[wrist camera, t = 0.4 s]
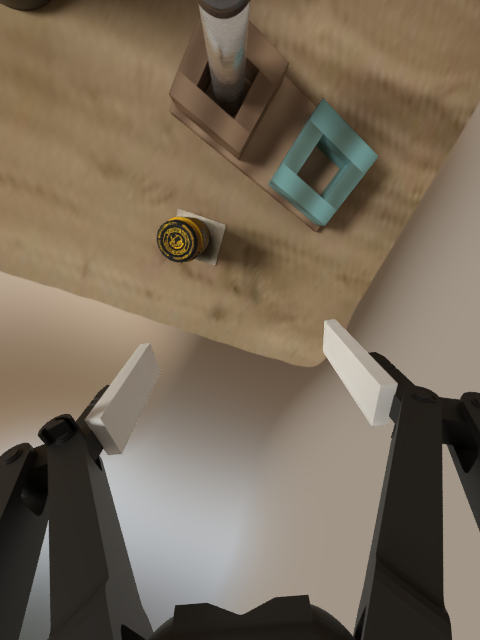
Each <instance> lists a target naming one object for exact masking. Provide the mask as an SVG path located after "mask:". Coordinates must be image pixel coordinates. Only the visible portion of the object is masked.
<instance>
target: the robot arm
mask: <svg viewBox="0 0 480 640" xmlns="http://www.w3.org/2000/svg"><path fill="white" fill-rule="evenodd" d="M48 1H49V0H0V3H2V4H4V5H6V6H9V7H12V8H16V9H34V8H37V7H40V6H42V5H44V4H45V3H47V2H48ZM323 352H324V354H325V355H326V357H327V358H328V360H329V361H330V363H331V364H332V366H333V367H334V369H335V371H336V372H337V373H338V375H339V377H340V378H341V380H342V381H343V383H344V384H345V386H346V387H347V389H348V391H349V392H350V393H351V395H352V397H353V398H354V400H355V401H356V403H357V404H358V406H359V407H360V409H361V410H362V412H363V413H364V415H365V417H366V418H367V420H368V421H369V423H370V424H371V426H381V425H387V424H388V420H389V417H390V418H391V419H392V420H393V422H394V423H395V425H394V429H393V432H392V436H391V438H392V440H391V445H390V450H389V456H388V461H387V466H386V472H385V477H384V482H383V487H382V492H381V498H380V503H379V509H378V514H377V519H376V525H375V529H374V535H373V540H372V545H371V551H370V556H369V561H368V566H367V571H366V577H365V582H364V587H363V591H362V596H361V600H360V604H359V609H358V614H357V619H356V624H355V629H354V634H353V636H352V635H351V634H350V632H349V631H348V630H347V629H346V628H345V627H344V626H343V625H342V624H341V623H340V622H339V621H338V620H337V619H335V618H334V617H333V616H332V615H330V614H329V613H328V612H326V611H324V610H323V609H321V608H319V607H317V606H314V605H311V604H310V601H309V596H308V595H300V596H287V597H276V598H273V599H271V600H269V601H268V602H266V603H264V604H262V605H260V606H258V607H257V608H255V609H253V610H251V611H249V612H247V613H245V614H243V615H238V614H235V613H233V612H230V611H227V610H225V609H222V608H219V607H217V606H214V605H211V604H209V603H200V604H188V605H176V606H175V611H174V617H172V618H170V619H169V620H167V621H166V622H165V623H163V624H162V625H161V626H160V627H159V628H158V629H157V630H156V631H155V632H154V633H153V630H152V627H151V624H150V622H149V619H148V617H147V615H146V613H145V611H144V609H143V607H142V605H141V601H140V598H139V594H138V590H137V587H136V583H135V579H134V576H133V572H132V568H131V565H130V561H129V557H128V554H127V550H126V546H125V542H124V539H123V535H122V532H121V528H120V524H119V520H118V517H117V513H116V510H115V506H114V502H113V498H112V495H111V491H110V487H109V484H108V480H107V476H106V473H105V469H104V465H103V462H102V459H101V457H100V456H99V455H100V453H101V452H102V450H103V449H104V450H105V451H106V453H107V454H108V455H114V454H122V452H123V450H124V448H125V446H126V444H127V442H128V440H129V438H130V436H131V433H132V431H133V429H134V427H135V425H136V423H137V421H138V419H139V417H140V414H141V412H142V410H143V408H144V406H145V404H146V402H147V399H148V398H149V395H150V393H151V391H152V389H153V387H154V385H155V383H156V380H157V379H158V376H159V374H160V372H161V371H160V369H159V365H158V363H157V360H156V358H155V355H154V352H153V350H152V347H151V344H150V343H147V344H140V345H139V347H138V348H137V349H136V351H135V352H134V353H133V355H132V356H131V357H130V359H129V360H128V362H127V363H126V364H125V366H124V367H123V368H122V370H121V371H120V372H119V374H118V375H117V377H116V378H115V379H114V381H113V382H112V383H111V385H106V386H105V387H104V388H103V389H102V390H100V391H99V392H98V394H97V395H96V396H95V398H94V400H92V401H91V403H90V404H89V406H88V407H87V408H86V409H85V410H84V412H83V413H82V414H81V416H80V417H79V418H78V419H77V421H76V422H75V420H74V419H73V418H72V416H71V415H70V414H63V415H60V416H58V417H55V418H53V419H52V420H50V421H49V422H47V423H46V424H45V425H44V426H43V427H42V428H41V430H40V431H39V433H38V436H39V437H40V439H41V440H42V441H43V442H44V443H45V444H44V445H41V446H38V447H36V448H33V447H32V446H31V445H30V444H29V443H22V444H19V445H16V446H14V447H12V448H11V449H9V450H8V451H6V452H5V453H4V454H2V455H1V456H0V640H18V639H19V635H20V631H21V627H22V623H23V619H24V615H25V611H26V607H27V603H28V599H29V595H30V591H31V587H32V583H33V579H34V575H35V571H36V567H37V563H38V559H39V555H40V551H41V547H42V543H43V539H44V535H45V532H46V528H47V523H48V520H49V558H50V610H51V630H50V635H49V638H48V639H47V640H452V634H451V623H450V618H449V615H448V613H447V611H446V609H445V606H444V597H443V496H442V494H443V491H442V444H447V446H448V449H449V451H450V454H451V457H452V459H453V462H454V465H455V467H456V470H457V473H458V475H459V478H460V481H461V483H462V486H463V488H464V491H465V494H466V496H467V499H468V502H469V504H470V507H471V510H472V512H473V515H474V518H475V520H476V522H477V525H478V528H479V531H480V393H477V392H467V393H464V394H463V395H462V396H461V398H460V400H458V399H450V398H442V397H439V396H438V395H437V394H435V393H434V392H432V391H431V390H429V389H426V388H423V387H419V386H415V385H414V384H413V383H412V382H411V381H410V380H409V379H407V378H406V376H404V375H403V374H402V373H401V372H400V371H399V370H398V369H396V367H395V366H394V365H393V364H391V362H390V361H389V360H387V359H386V358H385V357H384V356H382V355H380V354H378V353H376V352H371V353H367V352H366V350H365V349H364V348H363V347H362V346H361V345H360V344H359V343H358V342H357V341H356V340H355V339H354V338H353V337H352V336H351V335H350V334H349V333H348V332H347V331H346V330H345V329H344V328H343V327H342V326H341V325H340V324H339V323H338V322H337V321H336V320H335V319H333V320H325V322H324V342H323Z"/></svg>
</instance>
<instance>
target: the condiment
mask: <svg viewBox="0 0 480 640" xmlns="http://www.w3.org/2000/svg"><path fill="white" fill-rule="evenodd" d="M225 227H226V225H224V224H221V223H219V222H216V221H213V220H210V219H207V218H204V217H201V216H198V215H195V214H192V213H189V212H186V211H184V210H181V209H178V211H177V217H174V218H172V219H170V220H168V221H167V222H165V223H164V224H163V225H161V227H160V229H159V230H158V233H157V243H158V247H159V249H160V251H161V252H162V254H163V255H164V256H165V257H166V258H168V259H169V260H171V261H174V262H181V263H182V262H188V261H191V260H193V259H197V260H200V261H203V262H206V263H209V264H212V265H216V261H217V257H218V253H219V250H220V246H221V242H222V238H223V234H224V231H225ZM210 231H211V233H212V234H213V235H212V234H211V233H210Z"/></svg>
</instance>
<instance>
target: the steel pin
mask: <svg viewBox="0 0 480 640" xmlns="http://www.w3.org/2000/svg"><path fill="white" fill-rule="evenodd" d="M196 1H197V3H198V4H199V9H200V15H201V21H202V27H203V33H204V38H205V44H206V50H207V56H208V62H209V67H210V73H211V79H212V85H213V91H214V96H215V102H216V104H217V105H218V106H219V107H221V108H222V109H223V110H224V111H225V112H226V113H227V114H228V115H233V114H235V113H237V112H238V111H239V109H240V108H241V106H242V103H243V98H244V84H245V68H246V53H247V38H248V22H249V7H250V0H196Z"/></svg>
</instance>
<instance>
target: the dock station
mask: <svg viewBox="0 0 480 640" xmlns="http://www.w3.org/2000/svg"><path fill="white" fill-rule="evenodd" d="M288 64H289V62H288V61H287V60H286V59H285V58H284V56H283V55H282V54H281V53H280V52H279V51H278V50H277V49H276V48H275V47H274V46H273V45H272V44H271V43H270V42H269V41H268V40H267V39H266V38H265V36H264V35H263V34H262V33H261V32H260V31H259V30H258V29H257V28H256V27H255V26H254V25H253V24H252V23H251V22H250V21H249V22H248V38H247V53H246V68H245V84H244V98H243V103H242V106H241V108H240V109H239V111H238V112H237V113H235V114H233V115H228V114H227V113H226V112H225V111H224V110H223V109H222V108H221V107H219V106H218V105H217V104H216V102H215V96H214V91H213V85H212V79H211V73H210V67H209V62H208V56H207V50H206V44H205V38H204V33H203V27H202V21H201V15H200V16H199V18H198V21H197V23H196V26H195V28H194V31H193V34H192V36H191V39H190V41H189V44H188V46H187V49H186V51H185V54H184V56H183V59H182V61H181V64H180V66H179V69H178V71H177V74H176V76H175V79H174V81H173V84H172V87H171V89H170V92H169V95H170V97H171V99H172V100H173V104H172V106H171V108H170V112H171V114H172V115H173V116H174V117H176V118H177V119H178V120H179V121H181V122H182V123H183V124H184V125H185V126H187V127H188V128H189V129H190V130H192V131H193V132H194V133H195V134H196V135H198V136H199V137H200V138H201V139H202V140H204V141H205V142H206V143H207V144H209V145H210V146H211V147H212V148H213V149H215V150H216V151H217V152H218V153H220V154H221V155H222V156H223V157H224V158H226V159H227V160H228V161H229V162H230V163H232V164H233V165H234V166H235V167H237V168H238V169H239V170H240V171H241V172H243V173H244V174H245V175H246V176H247V177H249V178H250V179H251V180H252V181H254V182H255V183H256V184H257V185H258V186H260V187H261V188H262V189H263V190H265V191H266V192H267V193H268V194H269V195H271V196H272V197H273V198H274V199H275V200H277V201H278V202H279V203H280V204H282V205H283V206H284V207H285V208H286V209H288V210H289V211H290V212H291V213H293V214H294V215H295V216H296V217H297V218H299V219H300V220H301V221H302V222H303V223H305V224H306V225H307V226H308V227H310V228H311V229H312V230H313V231H317V230H318V229H319V228H320V226H321V225H323V226H325V225H326V224H327V223H328V221H329V220H330V219H331V217H332V216H333V215H334V213H335V212H336V211H337V210H338V208H339V207H340V206H341V204H342V203H343V202H344V201H345V199H346V198H347V197H348V195H349V194H350V193H351V191H352V190H353V189H354V188H355V186H356V185H357V184H358V182H359V181H360V180H361V178H362V177H363V176H364V175H365V173H366V172H367V171H368V169H369V168H370V167H371V166H372V164H373V163H374V162H375V160H376V159H377V158H378V156H377V155H376V153H375V152H374V151H373V150H372V149H371V148H370V147H369V146H368V145H367V144H366V143H365V142H364V141H363V140H362V139H361V138H360V137H359V136H358V134H357V133H356V132H355V131H354V130H353V129H352V128H351V127H350V126H349V125H348V124H347V123H346V122H345V121H344V120H343V119H342V118H341V117H340V116H339V114H338V113H337V112H336V111H335V110H334V109H333V108H332V107H331V106H330V105H329V104H328V103H327V102H326V101H325V100H324V99H322V100H321V101H320V103H319V104H318V106H317V107H316V106H315V105H314V104H313V103H312V102H311V101H310V100H309V99H308V98H307V97H306V96H305V95H304V94H303V93H302V92H301V91H300V90H299V89H298V88H297V87H296V86H295V85H294V84H293V83H292V82H291V81H290V80H289V78H288V77H287V76H286V75H285V73H286V70H287V67H288Z"/></svg>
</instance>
